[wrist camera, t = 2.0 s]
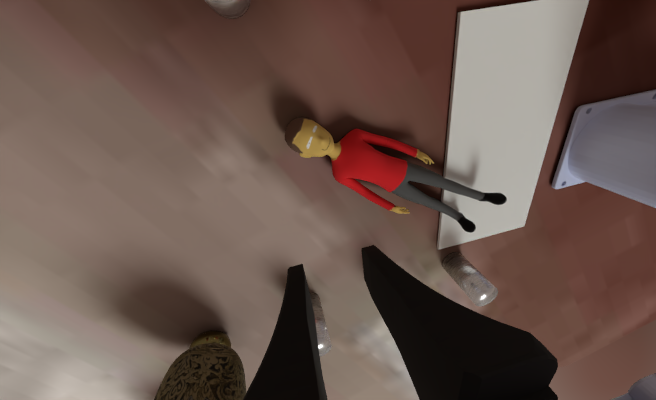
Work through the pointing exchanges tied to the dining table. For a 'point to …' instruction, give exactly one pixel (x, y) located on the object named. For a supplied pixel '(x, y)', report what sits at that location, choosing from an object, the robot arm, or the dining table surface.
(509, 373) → the robot arm
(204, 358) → the cup
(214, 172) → the dining table surface
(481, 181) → the mat
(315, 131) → the person figure
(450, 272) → the spacer field
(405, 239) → the dining table surface
